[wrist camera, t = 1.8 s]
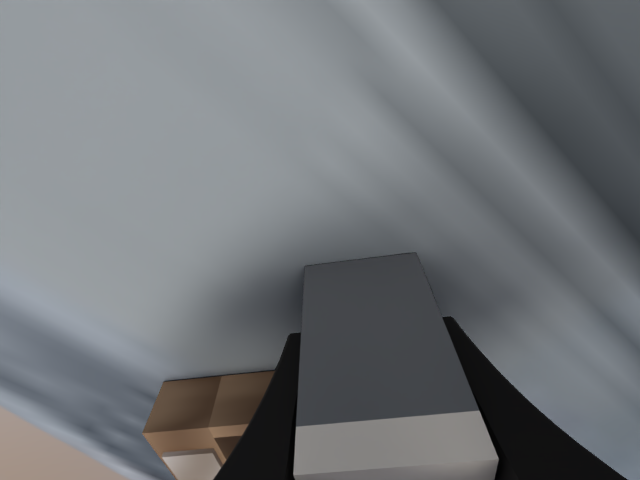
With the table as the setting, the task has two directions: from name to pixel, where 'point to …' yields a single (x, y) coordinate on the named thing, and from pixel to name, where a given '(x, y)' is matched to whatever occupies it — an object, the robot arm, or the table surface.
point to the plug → (382, 380)
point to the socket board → (203, 421)
